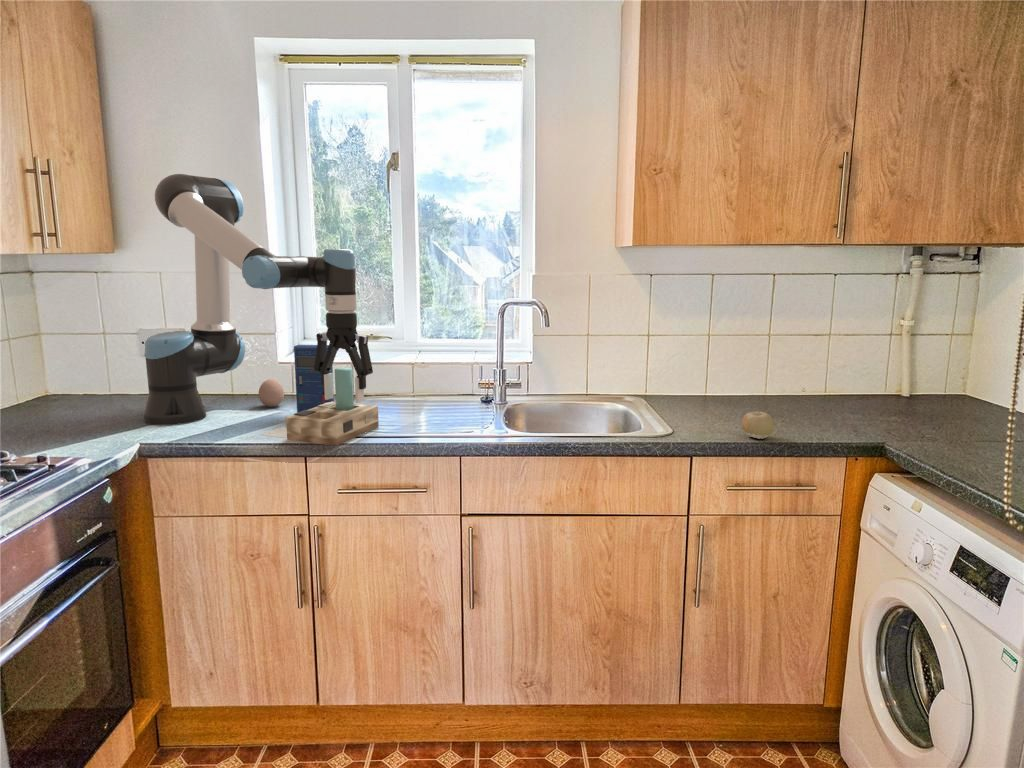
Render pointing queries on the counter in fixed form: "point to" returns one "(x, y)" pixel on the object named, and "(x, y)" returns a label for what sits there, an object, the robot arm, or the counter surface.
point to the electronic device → (308, 378)
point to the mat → (277, 433)
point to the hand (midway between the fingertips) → (344, 400)
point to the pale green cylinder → (344, 389)
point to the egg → (271, 393)
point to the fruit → (757, 423)
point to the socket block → (331, 424)
